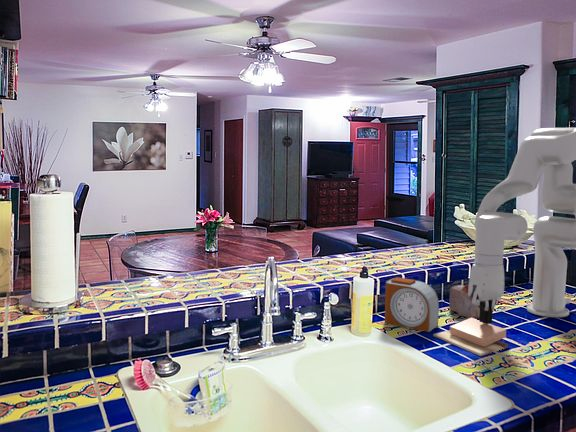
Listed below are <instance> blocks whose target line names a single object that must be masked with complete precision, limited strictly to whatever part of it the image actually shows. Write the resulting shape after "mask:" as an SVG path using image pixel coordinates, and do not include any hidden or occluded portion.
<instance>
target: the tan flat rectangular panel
mask: <svg viewBox="0 0 576 432" xmlns="http://www.w3.org/2000/svg"><path fill="white" fill-rule="evenodd" d="M432 336H433V337H435V338H438V339H439V340H442V341H444V342H446V343H449V344H452V345H453V346H457V347H459V348H461V349H463V350H465V351H467V352H470V353H472V354H475V355H477V356H480V357H482V356H485V355H489V354H493V353H495V352H500V351H503V350H505V349H504V347H502V346H500V345H497V344H495V343H492V344H489V345H487V346H485V347H483V346H480V345H478V344H475V343H473V342H470V341H468V340H465V339H462V338H460V337H457V336H455V335H452V334H450V329H449V330H445V331H441V332H436V333H433V335H432ZM502 349H503V350H502ZM499 350H500V351H499ZM492 352H493V353H492Z"/></svg>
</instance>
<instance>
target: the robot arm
mask: <svg viewBox="0 0 576 432" xmlns="http://www.w3.org/2000/svg"><path fill="white" fill-rule="evenodd" d="M574 161H576V127H544V128H538V129H535V130H533V132H532V133H531V135H530V136H528V137H526V138H524V139H523V140H522V141H521V143H520V145H519V148H518V150H517V153H516V155H515V157H514V161H513V163H512V165H511V168H510V169H509V173H508V175H507V177H506V178H505V179H504V180H503V181H500V183H498V184H497V185H496V186H495V187H493V188H492V189H490V191H488V193H487V194H486V195H485V196H484V197H483V199H482V201H480V202H481V203H480V205H479V207H478V210H477V212H476V215H475V218H474V219H475V220H474V229H475V243H474V244H475V245H474V263H473V264H472V266H471V270H470V273H469V278H468V279H469V281H468V285H469V288H468V296H469V297H470V298H473V299H472V304H474V305H478V308H479V309H480V315H479V321H480V322H482V323H485V324H493V315H494V313H493V312H494V309H496V308H495V306H496V304H497V303H498V302H499V301H501V300H502V297H503V296H504V294H505V293H504V292H505V269H504V251H505V250H504V249H505V248H504V247H505V241H517V240H520V239H522V238H523V237H524V236H525V235H526V234H527V232H528V225H529V224H528V222H527V220H526V218H525V217H524V216H522V215H520V214H518V213H513V212H502V211H497V210H498V209H499V207H500V206H502V204H504V203H506V202H507V201H509V200H512V199H515V198H518V197H521V196H523V195H527V194H529V193H531V192H534V191H535V190H536V189H537V187H538V185H539V183H540V182H539V181H541V180H540V179H541V176H542V184H541V195H540V201H541V203H540V205H541V207H542V208H543V210H544V211H547V212H550V213H556V214H557V213H558V214H567V215H574V216H575V217H574V218H571V217H563V216H562V217H561V216H552V215H549V216H548V215H545V216H542V217H539V218H538V219H536V221H535V223H534V224H533V230H532V231H533V232H532V233H533V241H534V246H535V247H534V264H533V265H534V268H533V284H532V299H531V300H532V301H531V302H532V303H529V304H527V305H526V310H527V312H529V313H531V314H534V315H537V316H541V317H545V318H566V317H568V316H569V315H570V310H569V309H568V308H566V305H567V304H570V303H572V298H571V297H566V286H567V285H566V283H567V273H568V272H567V270H568V258H567V256H566V254H565V252H564V250H563V248H564V249H570V250H576V183H573V174H574V173H573V172H574V167H573V165H572V163H573V162H574Z"/></svg>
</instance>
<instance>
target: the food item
mask: <svg viewBox="0 0 576 432" xmlns="http://www.w3.org/2000/svg"><path fill="white" fill-rule="evenodd" d="M468 288H469V284H467V285H461V284H459V285H453V286H451V287H450V288H449V306H448V308H449V311H453V312H455V313H457V314H458V316H459V317H464V318H467V319H469V318H474V319H479V315H480V309H479V308H478V305H474V304H472V299H473V298H470V297H469V296H468Z"/></svg>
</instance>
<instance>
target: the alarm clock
mask: <svg viewBox="0 0 576 432" xmlns="http://www.w3.org/2000/svg"><path fill="white" fill-rule="evenodd" d="M384 301H385V304H384V322H385V323H386V324H389V325H393V326H398V327H402V328H408V329H413V330H418V331H421V332H427V333H430V332H432V330H434V328H436V327H437V326H438V325H439V314H440V313H439V312H440V311H439V309H440V304H439V303H440V302H439V301H440V300H439V298H438V294H437V293H436V291H435V289H434V288H432V286H430V285H429V284H427V283H426V282H423V281H421V280H416V279H412V278H406V277H405V278H404V277H398V276H396V277H394V278H391V279H388V280H387V281H386V282H385V300H384Z"/></svg>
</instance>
